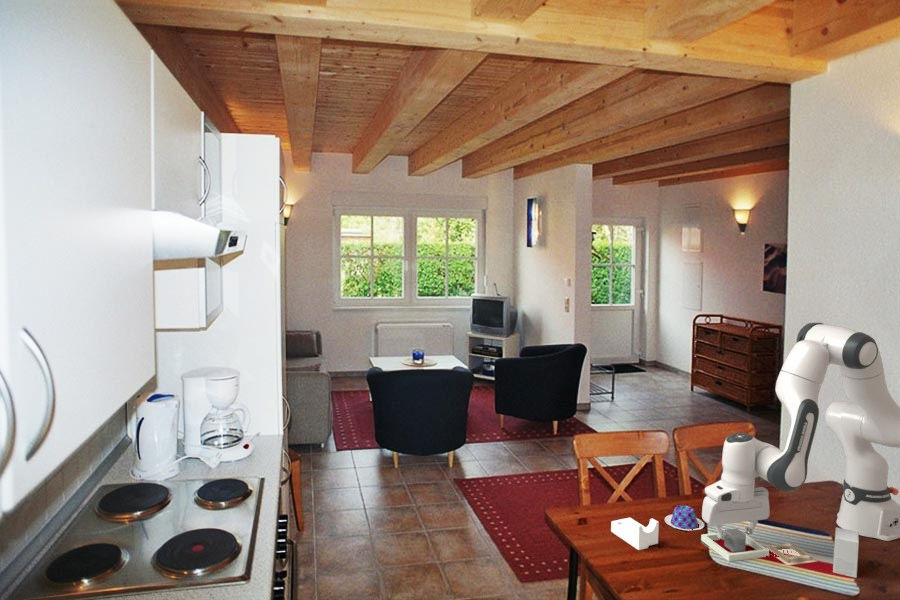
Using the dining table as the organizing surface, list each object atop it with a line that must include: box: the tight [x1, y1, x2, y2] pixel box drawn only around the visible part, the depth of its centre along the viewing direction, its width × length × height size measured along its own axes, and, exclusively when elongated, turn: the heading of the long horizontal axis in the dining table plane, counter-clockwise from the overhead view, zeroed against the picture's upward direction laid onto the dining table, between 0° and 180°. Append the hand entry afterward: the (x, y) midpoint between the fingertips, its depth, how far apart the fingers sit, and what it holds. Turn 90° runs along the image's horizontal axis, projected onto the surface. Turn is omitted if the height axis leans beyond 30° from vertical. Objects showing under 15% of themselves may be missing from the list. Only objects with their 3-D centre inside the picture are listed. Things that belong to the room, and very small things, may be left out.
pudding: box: [664, 504, 705, 531], centre depth 208 cm, size 12×12×5 cm
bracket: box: [610, 517, 660, 551], centre depth 198 cm, size 13×7×8 cm, turn 23°
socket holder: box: [767, 542, 818, 566], centre depth 187 cm, size 10×10×2 cm
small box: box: [832, 527, 860, 579], centre depth 179 cm, size 8×6×10 cm
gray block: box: [723, 528, 747, 553], centre depth 191 cm, size 4×4×5 cm
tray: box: [700, 532, 770, 565], centre depth 191 cm, size 13×13×2 cm
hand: (735, 535), depth 191 cm, fingers open, 8 cm apart
